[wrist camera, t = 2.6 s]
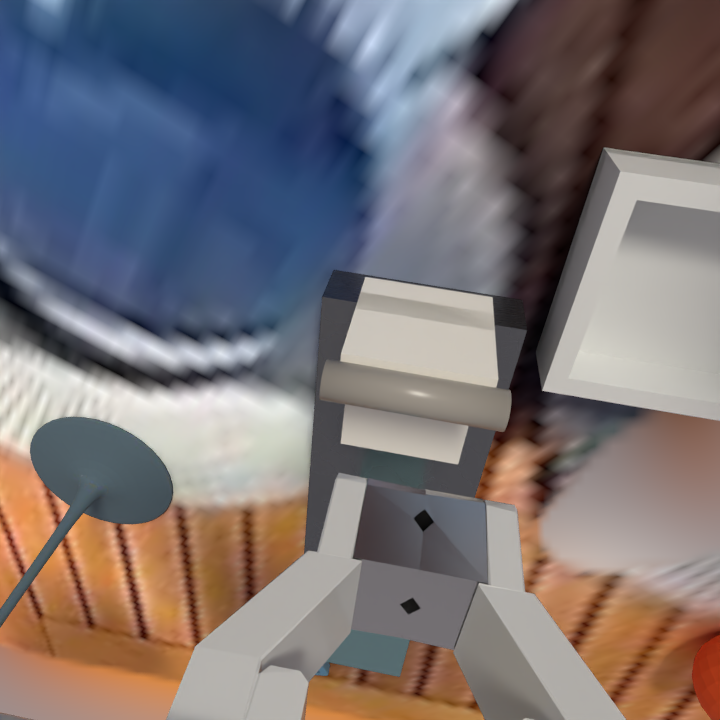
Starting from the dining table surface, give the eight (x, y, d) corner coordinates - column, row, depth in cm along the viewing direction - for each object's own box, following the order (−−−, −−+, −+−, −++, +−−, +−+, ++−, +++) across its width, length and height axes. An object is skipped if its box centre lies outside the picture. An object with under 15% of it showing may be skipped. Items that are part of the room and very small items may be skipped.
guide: (333, 270, 31) (322, 296, 29) (522, 300, 30) (527, 330, 28) (313, 525, 43) (303, 559, 41) (447, 550, 43) (446, 587, 40)
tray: (603, 147, 26) (620, 171, 23) (864, 184, 25) (915, 213, 22) (535, 352, 32) (542, 390, 29) (741, 386, 31) (768, 429, 29)
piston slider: (354, 275, 28) (321, 370, 21) (503, 299, 27) (513, 403, 21) (341, 405, 32) (310, 515, 26) (467, 427, 32) (467, 544, 26)
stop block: (365, 449, 38) (329, 619, 28) (425, 460, 38) (410, 635, 28) (358, 491, 41) (324, 661, 31) (416, 501, 40) (399, 677, 31)
